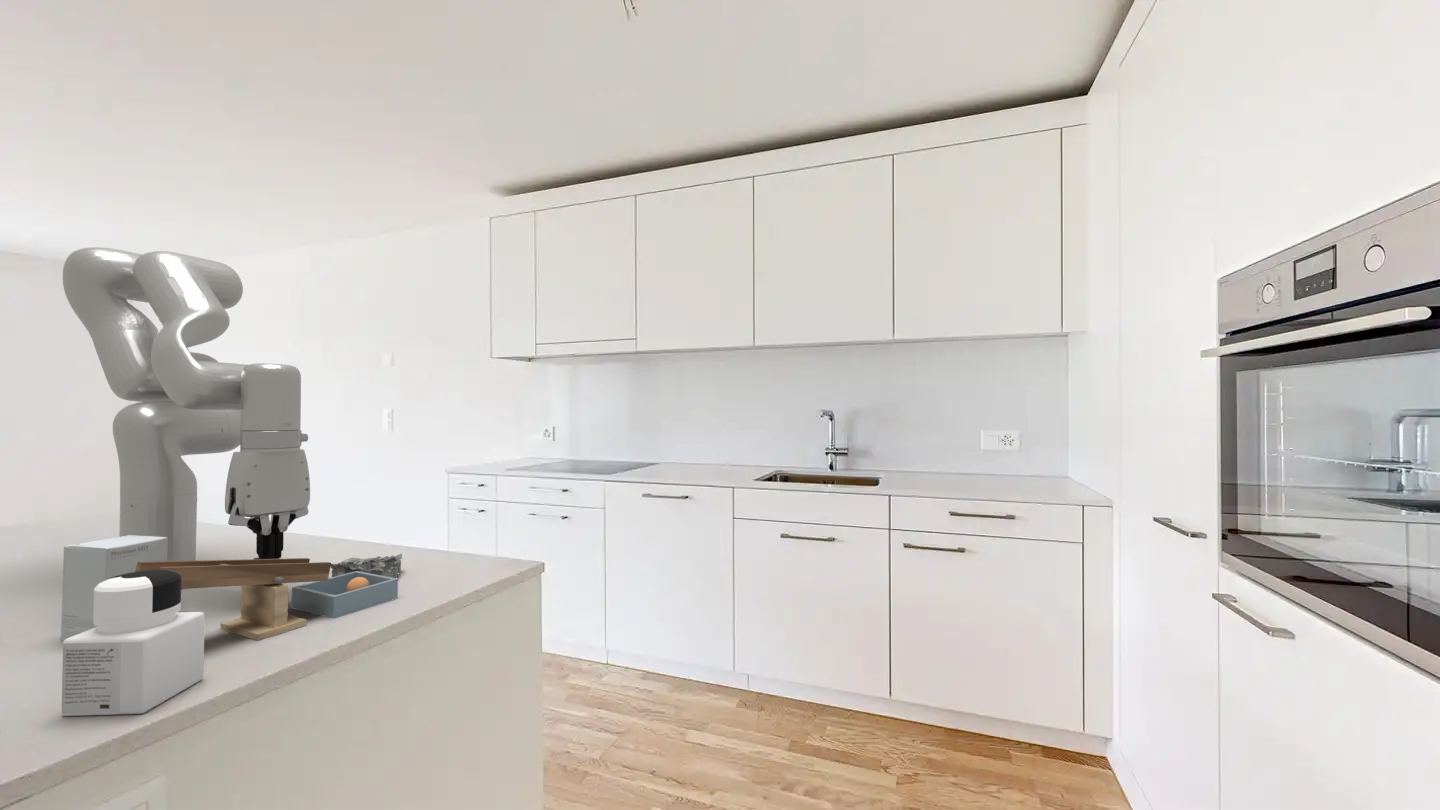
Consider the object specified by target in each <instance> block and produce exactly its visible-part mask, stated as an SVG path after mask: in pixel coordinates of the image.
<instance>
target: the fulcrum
mask: <svg viewBox="0 0 1440 810" xmlns="http://www.w3.org/2000/svg"><path fill="white" fill-rule="evenodd" d="M288 591H289V585H287V584H286V583H282V584H263V585H246V586H241V596H240V597H241V600H240V605H241V606H240V607H241V609H240V611H241V612H240V617H237V618H235V619H231V620H228V621H224V622H221V623H220V627H219V628H220V630H222V631H226V632H230V633H232V634H236V635H239V636H242V637H245V638H248V639H251V640H255V641H261V640H264V639H266V638H271V637H273V636H277V635H280V634H282V633H286V632H289V631H292V630H295V629H298V628H302V627H305V626H307V619H305V618H302V617H297V616H295V615H290V614H288V607H289V606H288V605H289V604H288V600H289V599H288V595H289V593H288Z"/></svg>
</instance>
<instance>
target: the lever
mask: <svg viewBox="0 0 1440 810" xmlns="http://www.w3.org/2000/svg"><path fill="white" fill-rule="evenodd" d="M310 560H311V558H307V557H304V558H302V557H300V558H297V557H295V558H278V559H275V558H274V559H260V558H259V557H253V558H252V559H250V558H249V559H247V558H246V559H214V560H213V559H210V560H205V559H204V560H196V561H159V562H138V563H137V567H136V571H135V572H139V571H147V570H168V571H173V572H177V573H178V574H179V575H181V590H191V589H208V588H209V589H210V588H223V587H224V588H225V587H226V588H227V587H242V586H246V585H263V584H292V583H293V584H296V583H312V582H316V581H328V578H329V576H330V573H331V572H330V571H331V564H332V562H329V561H326V562H325V561H324V562H323V561H322V562H311V561H310Z"/></svg>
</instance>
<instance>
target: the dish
mask: <svg viewBox="0 0 1440 810" xmlns="http://www.w3.org/2000/svg"><path fill="white" fill-rule="evenodd" d="M356 577H363V578H366V579H367V580H368V581H369V584H370V586H367V587H363V588H360V589H356V590H352V591H349V592H347V590H346V588H347V584H348V583H349V582H350V581H351V580H352V579H354V578H356ZM398 591H399V579H398V578H397V579H396V578H391V577H386V576H381V575H376V574H370V573H365V572H360V571H355V572H351V573H347V574H343V575H339V576H335V577H332V576H330V577H328V581H314V582H307V583H304V584H301V585H297V586H293V587H291V608H292V609H294V608H295V610H298V609H299V611H303V612H307V613H310V614H314V615H318V616H322V617H327V618H330V619H336V618H339V617H343V616H345V615H348V614H353V613H356V612H358V611H361V610H365V609H367V608H370V607H374V606H377V605H380V604H384V603H386V602H390V601H393V600H396V599H398V598H399V593H398ZM395 598H396V599H395ZM392 599H393V600H392Z"/></svg>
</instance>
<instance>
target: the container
mask: <svg viewBox="0 0 1440 810" xmlns="http://www.w3.org/2000/svg"><path fill="white" fill-rule="evenodd" d="M181 602H182V589H181V575H179V574H178V573H177V572H173V571H168V570H147V571H139V572H132V573H127V574H122V575H118V576H115V577H112V578H109V579H107V580H105V581H103V582H101V583H99V584H98V585H97V586H96V587H95V588H94V615H93V624H94V625H95V626H98V627H96V628H93V629H90V630H88V631H85V632H83V633H80V634H77V635H75V636H72V637H69V638H67V639H65V640H64V641H62V671H61V672H62V675H61V678H62V681H61V683H62V684H61V715H62V716H64V717H74V716H75V717H77V716H78V717H79V716H109V715H110V716H111V715H138V714H140V715H141V714H145V713H146V712H149V710H152V709H154V708H155V707H157V706H159V705H160V704H162V703H164V702H165V701H167V700H169V699H171V698H172V697H174V696H176V695H178V694H180V693H181V692H182V691H185V690H187V689H188V688H190V687H191V686H193V685H195V684H197V683H199V682H200V681H202V680H203V678H204V665H205V664H204V663H205V659H204V658H205V613H204V612H203V611H190V612H189V611H187V612H185V611H184V612H183V611H182V612H179V611H180V610H181V609H182V608H181V607H182V603H181Z"/></svg>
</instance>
